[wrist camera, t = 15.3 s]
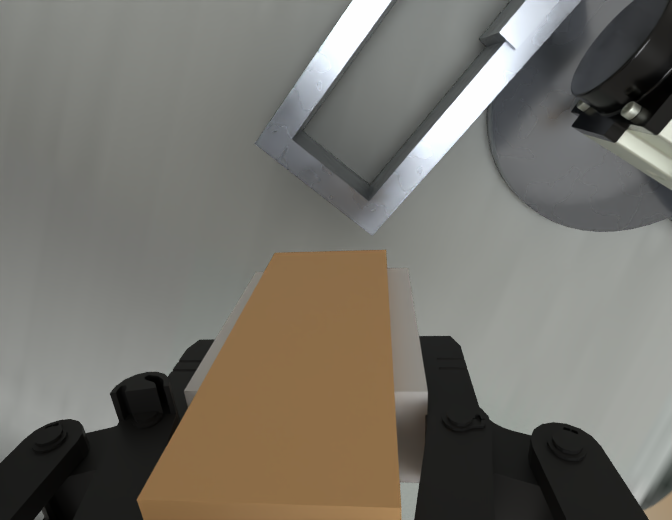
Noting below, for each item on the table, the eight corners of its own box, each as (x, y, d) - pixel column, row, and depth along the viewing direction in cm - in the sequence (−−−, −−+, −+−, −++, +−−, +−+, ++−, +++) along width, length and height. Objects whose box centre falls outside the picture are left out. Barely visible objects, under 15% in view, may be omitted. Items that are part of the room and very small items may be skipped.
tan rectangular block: (286, 346, 17) (187, 650, 8) (274, 252, 16) (136, 499, 7) (387, 345, 17) (401, 664, 8) (385, 249, 15) (400, 508, 6)
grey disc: (419, 110, 27) (427, 117, 23) (626, -140, 22) (686, -191, 17) (611, 277, 30) (648, 310, 26) (833, 95, 25) (924, 99, 21)
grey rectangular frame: (270, 134, 28) (254, 143, 25) (457, -136, 22) (473, -177, 19) (372, 215, 30) (372, 235, 26) (574, -16, 24) (610, -33, 20)
